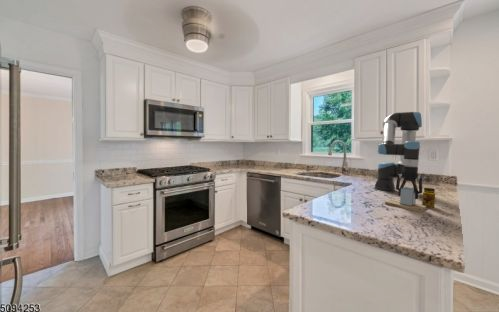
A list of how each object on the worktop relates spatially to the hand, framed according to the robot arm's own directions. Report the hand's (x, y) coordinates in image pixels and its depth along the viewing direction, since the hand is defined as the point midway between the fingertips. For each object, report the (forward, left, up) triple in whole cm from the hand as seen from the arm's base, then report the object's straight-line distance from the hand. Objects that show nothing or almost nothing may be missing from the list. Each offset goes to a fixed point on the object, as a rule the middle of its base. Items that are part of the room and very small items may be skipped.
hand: (407, 202), depth 138 cm
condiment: (-11, +8, -3) cm, 14 cm away
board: (0, -1, -3) cm, 3 cm away
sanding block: (0, 0, -1) cm, 1 cm away
